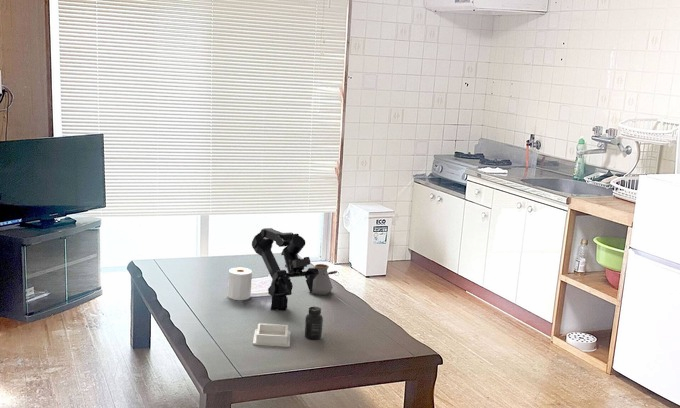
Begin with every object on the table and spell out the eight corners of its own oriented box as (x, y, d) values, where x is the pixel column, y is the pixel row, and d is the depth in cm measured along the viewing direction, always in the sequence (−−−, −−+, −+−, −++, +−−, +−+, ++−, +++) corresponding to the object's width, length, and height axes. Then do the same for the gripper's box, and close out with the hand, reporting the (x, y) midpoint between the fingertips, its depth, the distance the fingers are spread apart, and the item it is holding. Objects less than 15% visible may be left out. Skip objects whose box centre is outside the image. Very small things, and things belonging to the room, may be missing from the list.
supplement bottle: (324, 336, 290) (326, 307, 288) (318, 342, 284) (320, 312, 281) (308, 332, 292) (310, 304, 290) (301, 338, 286) (303, 309, 283)
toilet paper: (235, 301, 320) (237, 275, 318) (223, 294, 328) (224, 269, 325) (255, 298, 327) (256, 272, 324) (242, 291, 334) (243, 266, 332)
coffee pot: (303, 289, 344) (305, 258, 341) (325, 287, 349) (327, 257, 346) (323, 304, 326) (325, 272, 323) (346, 302, 331) (348, 270, 328)
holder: (252, 344, 276) (253, 335, 275) (254, 330, 290) (255, 322, 289) (289, 346, 277) (290, 337, 276) (290, 332, 291) (290, 324, 290)
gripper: (277, 251, 293) (286, 286, 286) (318, 248, 302) (329, 282, 295) (268, 264, 302) (277, 298, 294) (309, 261, 310) (319, 294, 303)
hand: (301, 293), depth 296 cm, fingers open, 9 cm apart
